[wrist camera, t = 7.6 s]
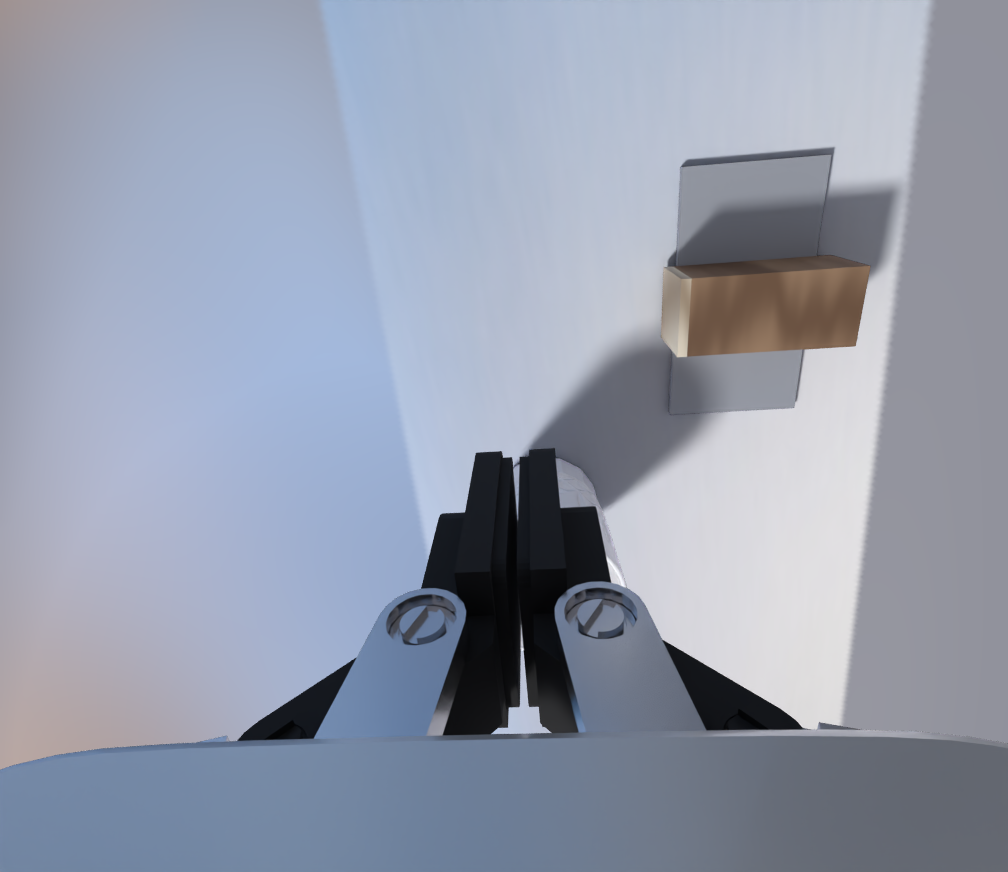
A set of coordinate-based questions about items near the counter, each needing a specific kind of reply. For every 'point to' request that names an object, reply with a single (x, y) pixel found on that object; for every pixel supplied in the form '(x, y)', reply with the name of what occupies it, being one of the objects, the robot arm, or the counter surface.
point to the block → (763, 305)
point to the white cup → (581, 494)
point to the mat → (745, 237)
